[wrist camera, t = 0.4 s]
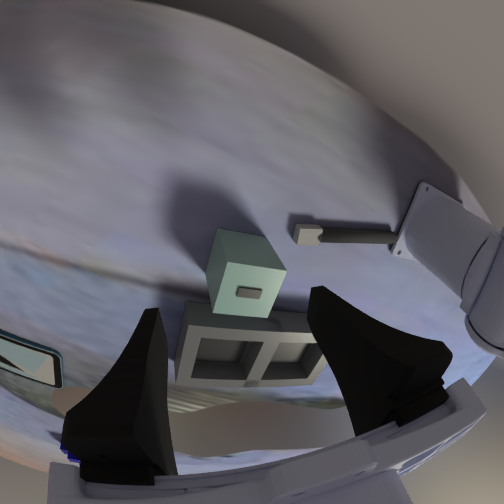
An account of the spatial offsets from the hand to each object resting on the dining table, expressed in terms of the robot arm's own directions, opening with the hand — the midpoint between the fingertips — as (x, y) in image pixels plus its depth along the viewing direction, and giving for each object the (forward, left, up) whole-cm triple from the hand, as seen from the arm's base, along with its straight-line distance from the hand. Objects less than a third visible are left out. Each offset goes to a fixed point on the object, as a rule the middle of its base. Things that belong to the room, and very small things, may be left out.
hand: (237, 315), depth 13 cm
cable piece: (-12, -2, -10) cm, 16 cm away
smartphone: (+21, +19, -10) cm, 30 cm away
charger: (-2, +2, -10) cm, 10 cm away
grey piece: (-7, +11, -10) cm, 16 cm away
